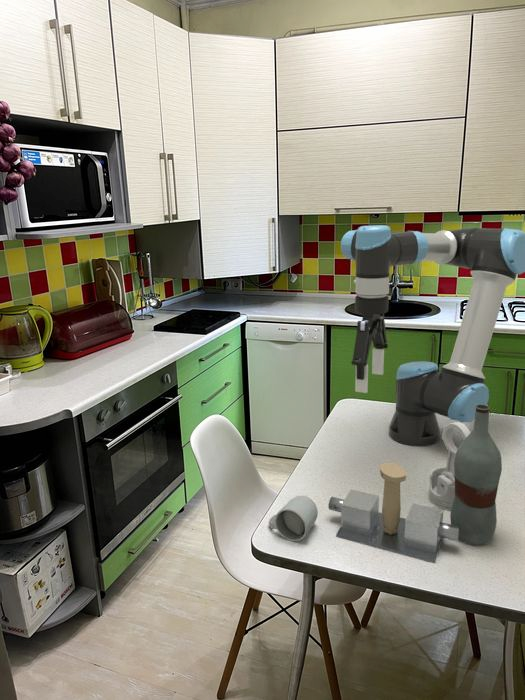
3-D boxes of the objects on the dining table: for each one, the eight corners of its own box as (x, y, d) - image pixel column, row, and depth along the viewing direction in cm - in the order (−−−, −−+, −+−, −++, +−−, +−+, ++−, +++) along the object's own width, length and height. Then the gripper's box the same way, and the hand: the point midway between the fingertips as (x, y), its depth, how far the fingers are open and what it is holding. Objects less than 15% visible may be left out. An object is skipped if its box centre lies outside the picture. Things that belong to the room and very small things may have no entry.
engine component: (451, 485, 135) (420, 494, 131) (457, 410, 130) (424, 418, 126) (484, 506, 126) (451, 517, 122) (491, 427, 120) (457, 436, 116)
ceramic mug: (320, 525, 121) (319, 495, 119) (306, 545, 114) (305, 514, 112) (278, 515, 126) (276, 486, 124) (262, 534, 119) (260, 503, 117)
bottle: (448, 543, 113) (458, 412, 105) (449, 519, 121) (457, 396, 113) (496, 551, 110) (510, 417, 102) (493, 525, 118) (505, 400, 110)
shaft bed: (339, 505, 128) (339, 480, 126) (461, 534, 116) (463, 508, 114) (321, 532, 118) (321, 506, 116) (452, 568, 105) (455, 539, 104)
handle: (393, 520, 120) (395, 461, 116) (407, 537, 114) (410, 475, 110) (374, 524, 119) (375, 464, 115) (387, 541, 113) (389, 479, 109)
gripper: (371, 285, 133) (369, 365, 139) (337, 304, 112) (337, 397, 118) (401, 286, 130) (398, 369, 136) (372, 306, 109) (370, 402, 115)
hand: (369, 382), depth 127 cm, fingers open, 13 cm apart
